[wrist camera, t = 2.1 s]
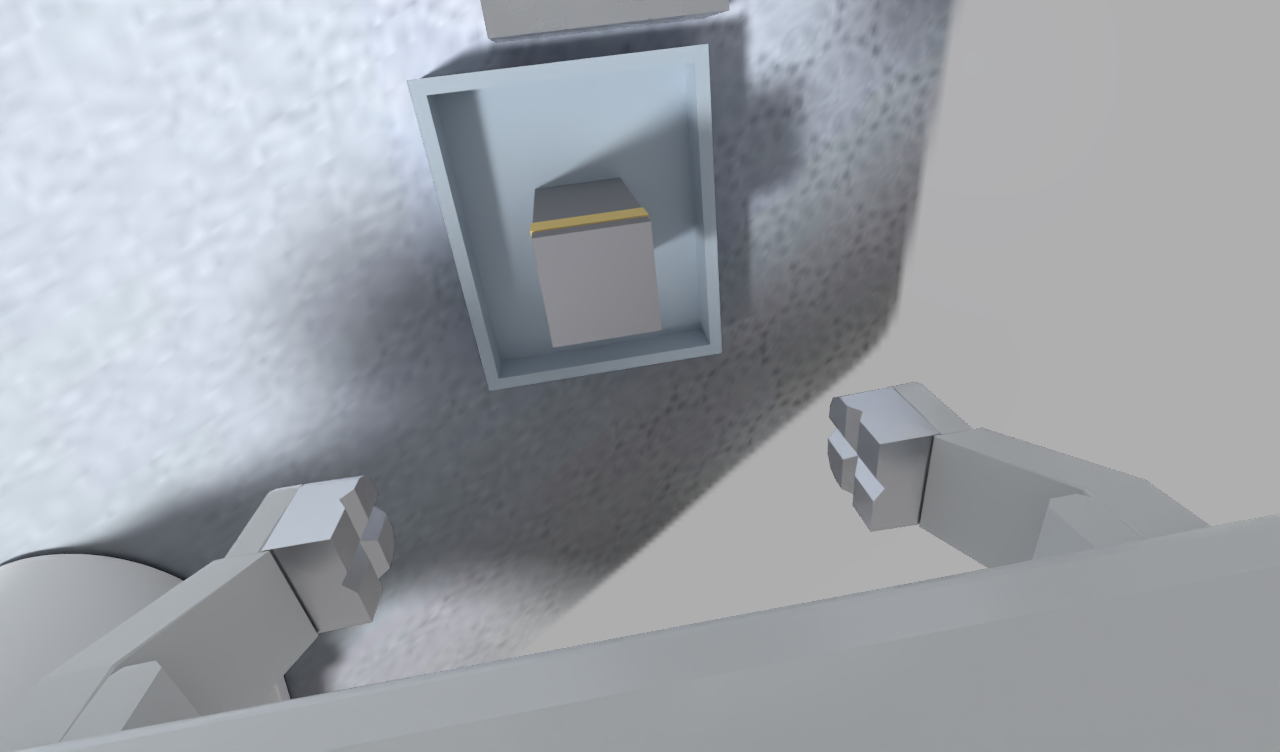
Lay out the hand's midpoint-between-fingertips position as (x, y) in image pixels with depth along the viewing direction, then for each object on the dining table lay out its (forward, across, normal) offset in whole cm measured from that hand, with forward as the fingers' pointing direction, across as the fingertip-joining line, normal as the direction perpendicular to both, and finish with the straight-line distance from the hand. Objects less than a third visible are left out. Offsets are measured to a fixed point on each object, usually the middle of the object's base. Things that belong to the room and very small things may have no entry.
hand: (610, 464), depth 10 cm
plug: (+20, 0, +1) cm, 20 cm away
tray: (+21, 0, +1) cm, 21 cm away
